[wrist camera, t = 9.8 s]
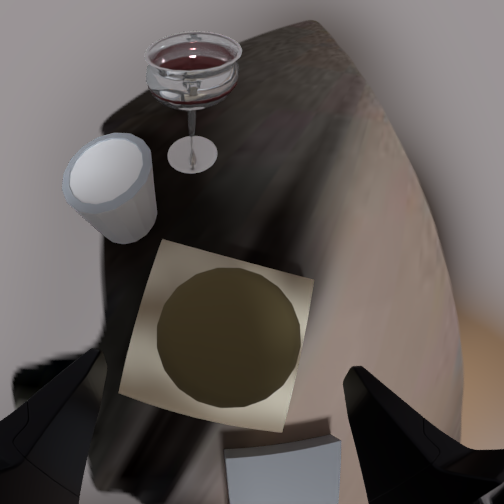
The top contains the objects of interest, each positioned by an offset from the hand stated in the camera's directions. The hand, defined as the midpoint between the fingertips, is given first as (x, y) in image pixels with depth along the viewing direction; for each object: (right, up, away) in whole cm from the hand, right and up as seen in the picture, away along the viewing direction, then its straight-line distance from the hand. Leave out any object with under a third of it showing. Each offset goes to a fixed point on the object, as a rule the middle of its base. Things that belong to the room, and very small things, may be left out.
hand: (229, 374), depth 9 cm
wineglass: (-5, +14, +17) cm, 22 cm away
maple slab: (-2, -3, +11) cm, 12 cm away
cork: (-2, -2, +10) cm, 10 cm away
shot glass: (-10, +7, +14) cm, 19 cm away
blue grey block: (+3, -16, +8) cm, 18 cm away
